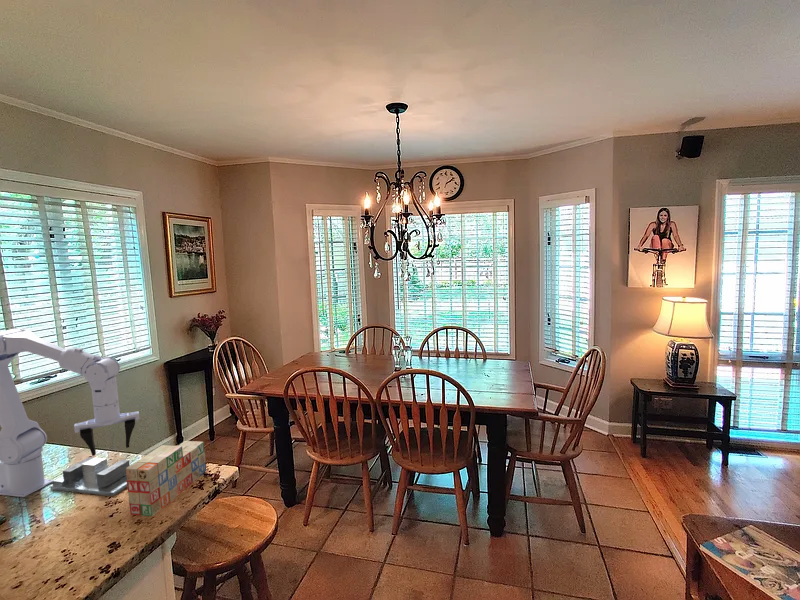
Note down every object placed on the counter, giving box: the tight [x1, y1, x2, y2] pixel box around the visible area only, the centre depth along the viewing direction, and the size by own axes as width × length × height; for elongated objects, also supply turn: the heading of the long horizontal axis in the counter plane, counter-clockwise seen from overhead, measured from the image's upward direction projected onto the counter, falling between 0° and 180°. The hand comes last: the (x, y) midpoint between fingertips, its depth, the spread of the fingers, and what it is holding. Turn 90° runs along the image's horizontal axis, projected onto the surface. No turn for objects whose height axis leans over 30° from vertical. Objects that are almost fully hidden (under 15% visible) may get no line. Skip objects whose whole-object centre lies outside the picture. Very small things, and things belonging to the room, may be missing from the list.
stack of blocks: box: [126, 440, 207, 517], centre depth 110 cm, size 21×6×12 cm, turn 171°
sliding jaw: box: [97, 459, 131, 487], centre depth 115 cm, size 2×8×4 cm, turn 170°
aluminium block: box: [82, 456, 109, 483], centre depth 116 cm, size 4×4×5 cm
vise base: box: [49, 456, 127, 497], centre depth 116 cm, size 20×11×5 cm, turn 79°
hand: (111, 450), depth 114 cm, fingers open, 7 cm apart
